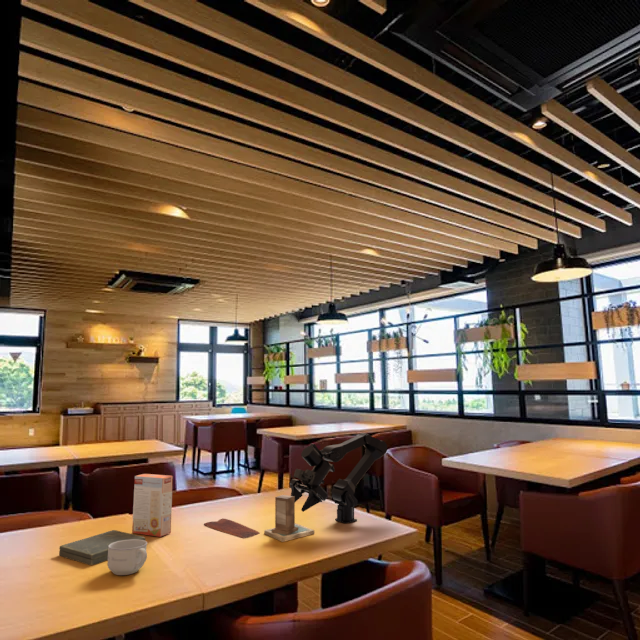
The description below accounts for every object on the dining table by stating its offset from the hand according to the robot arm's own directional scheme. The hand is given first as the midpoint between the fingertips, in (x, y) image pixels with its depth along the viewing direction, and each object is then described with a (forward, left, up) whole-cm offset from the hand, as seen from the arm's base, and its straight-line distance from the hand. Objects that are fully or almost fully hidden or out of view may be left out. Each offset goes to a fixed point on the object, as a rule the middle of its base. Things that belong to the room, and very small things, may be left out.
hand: (295, 508), depth 175 cm
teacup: (+60, 0, -9) cm, 60 cm away
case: (+61, -25, -9) cm, 66 cm away
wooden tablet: (+16, -19, -9) cm, 27 cm away
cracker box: (+42, -34, -9) cm, 55 cm away
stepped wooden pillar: (+5, 0, -7) cm, 8 cm away
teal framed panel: (+3, 0, -8) cm, 9 cm away
